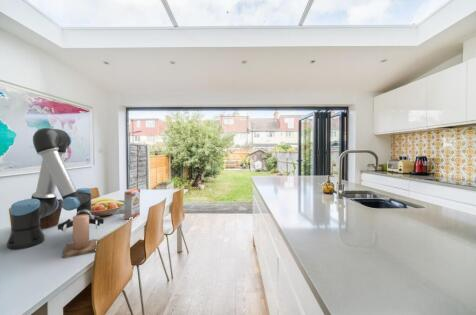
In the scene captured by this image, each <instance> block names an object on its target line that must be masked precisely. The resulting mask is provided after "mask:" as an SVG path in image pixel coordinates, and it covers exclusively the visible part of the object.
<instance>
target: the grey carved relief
mask: <svg viewBox="0 0 476 315" xmlns="http://www.w3.org/2000/svg"><path fill="white" fill-rule="evenodd" d="M113 215H124V206H123V207H122V208H121V209H120V210H119V211H118V212H116V213H114V214H113Z"/></svg>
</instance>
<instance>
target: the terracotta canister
mask: <svg viewBox="0 0 476 315" xmlns="http://www.w3.org/2000/svg"><path fill="white" fill-rule="evenodd" d="M72 220H73V226H72V243H73V249H83V248H86V247H88V246H89V240H90V224H89V215H87V214H83V215H77V216H76V215H73V217H72Z"/></svg>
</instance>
